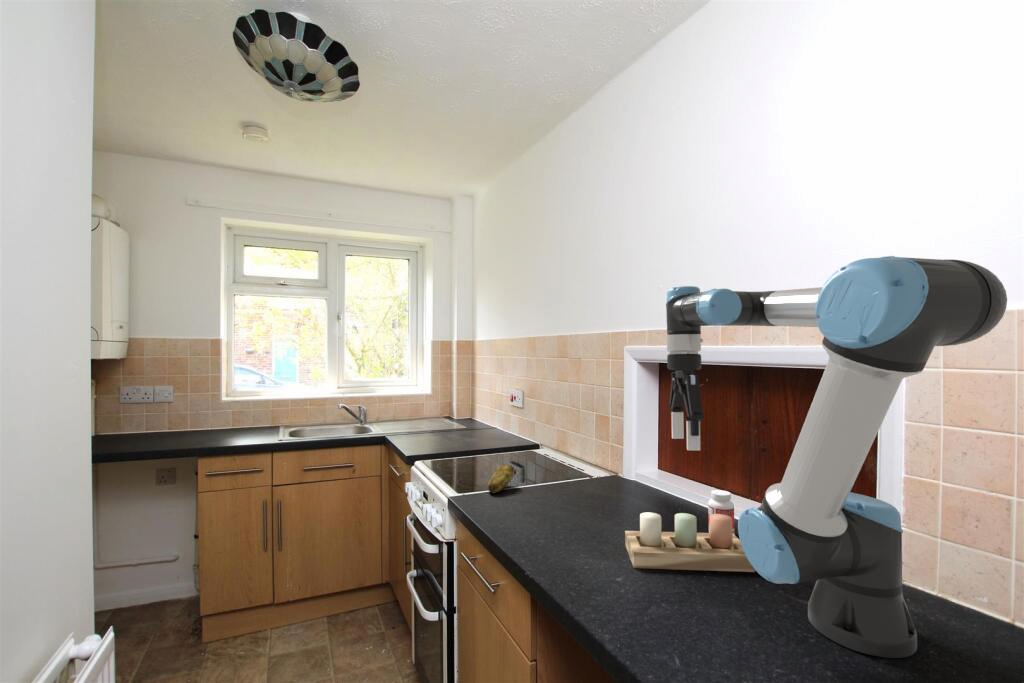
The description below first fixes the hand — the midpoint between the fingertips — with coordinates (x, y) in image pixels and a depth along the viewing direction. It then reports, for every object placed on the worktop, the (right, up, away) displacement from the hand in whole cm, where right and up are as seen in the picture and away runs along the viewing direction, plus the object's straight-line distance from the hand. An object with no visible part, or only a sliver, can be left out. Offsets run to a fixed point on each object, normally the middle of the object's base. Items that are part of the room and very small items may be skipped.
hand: (685, 444), depth 109 cm
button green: (0, -23, -1) cm, 23 cm away
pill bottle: (+14, -27, +12) cm, 33 cm away
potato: (-45, -27, +51) cm, 73 cm away
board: (0, -26, -1) cm, 26 cm away
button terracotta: (+8, -23, -1) cm, 24 cm away
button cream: (-8, -23, 0) cm, 24 cm away
